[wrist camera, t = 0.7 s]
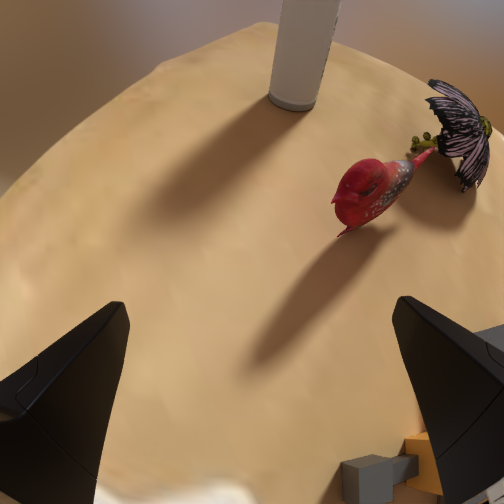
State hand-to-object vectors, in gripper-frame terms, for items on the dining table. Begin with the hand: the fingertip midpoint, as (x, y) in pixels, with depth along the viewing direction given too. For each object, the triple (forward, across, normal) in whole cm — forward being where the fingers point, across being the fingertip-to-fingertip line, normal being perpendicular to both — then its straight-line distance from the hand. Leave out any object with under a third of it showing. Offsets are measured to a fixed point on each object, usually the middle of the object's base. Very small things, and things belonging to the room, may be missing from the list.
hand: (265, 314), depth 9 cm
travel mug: (+34, -6, -7) cm, 35 cm away
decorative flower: (+27, -26, -1) cm, 38 cm away
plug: (-1, -11, +16) cm, 19 cm away
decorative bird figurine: (+18, -11, +4) cm, 22 cm away
